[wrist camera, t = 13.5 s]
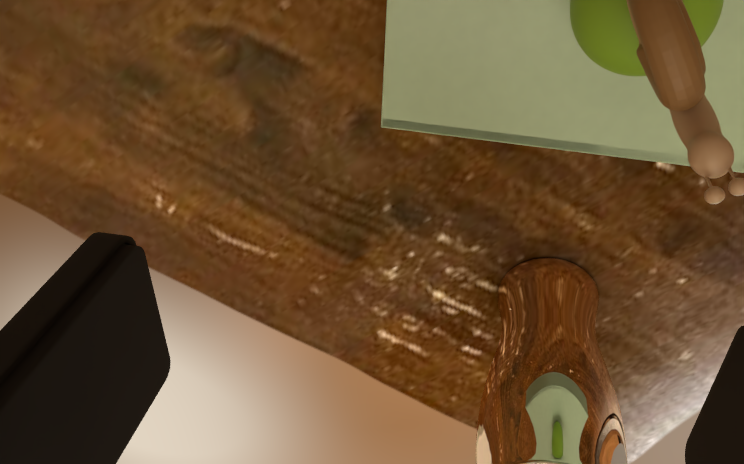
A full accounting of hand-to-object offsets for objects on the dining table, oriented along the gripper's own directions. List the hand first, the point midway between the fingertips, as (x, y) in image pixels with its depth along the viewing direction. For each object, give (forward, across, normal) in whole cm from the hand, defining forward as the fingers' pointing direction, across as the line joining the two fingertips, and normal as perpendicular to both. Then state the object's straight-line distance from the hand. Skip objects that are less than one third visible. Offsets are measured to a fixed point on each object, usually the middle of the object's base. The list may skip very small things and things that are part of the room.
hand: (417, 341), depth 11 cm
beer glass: (+25, -6, +19) cm, 32 cm away
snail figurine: (+22, -6, 0) cm, 23 cm away
